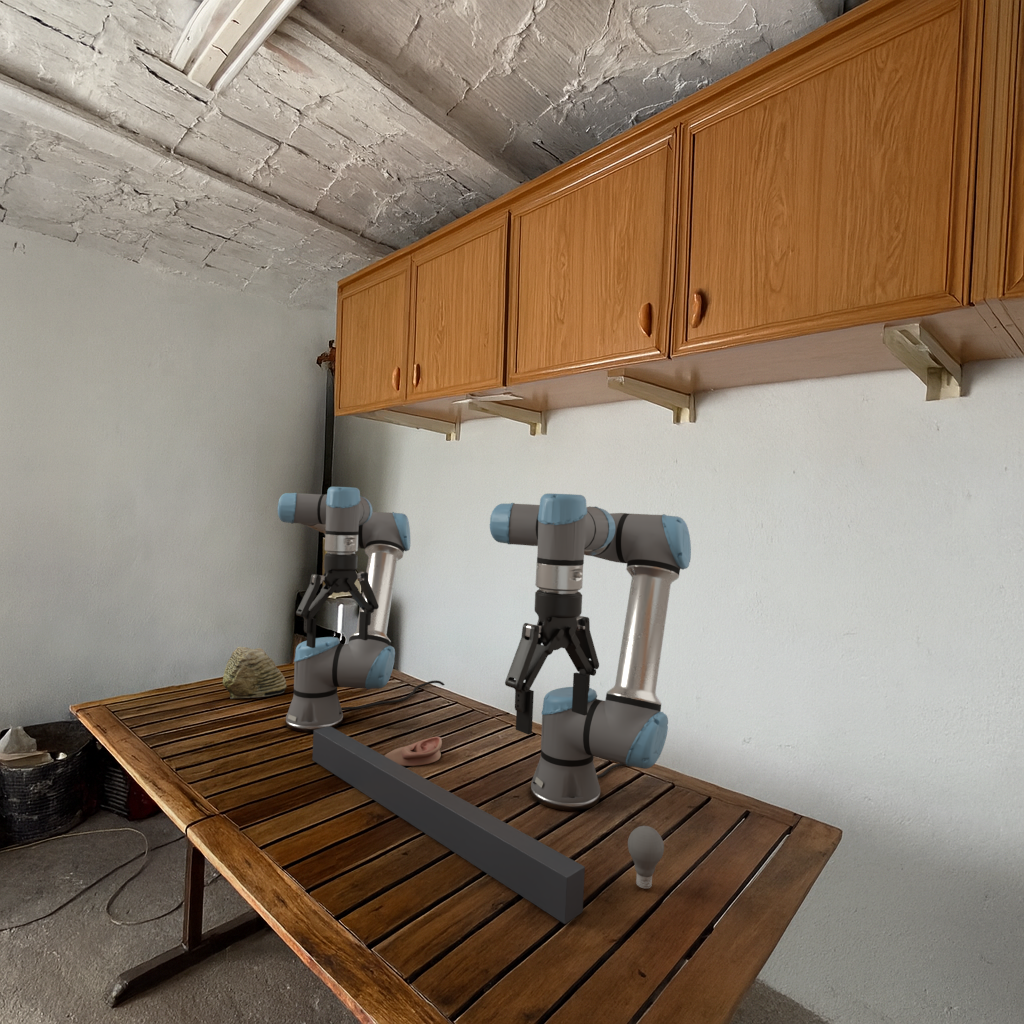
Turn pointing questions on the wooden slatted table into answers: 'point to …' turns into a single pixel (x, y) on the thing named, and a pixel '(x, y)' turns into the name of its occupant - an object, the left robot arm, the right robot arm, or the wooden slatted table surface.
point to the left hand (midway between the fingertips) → (337, 643)
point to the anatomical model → (417, 752)
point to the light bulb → (645, 853)
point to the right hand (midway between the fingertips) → (552, 722)
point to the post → (458, 825)
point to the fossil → (252, 674)
